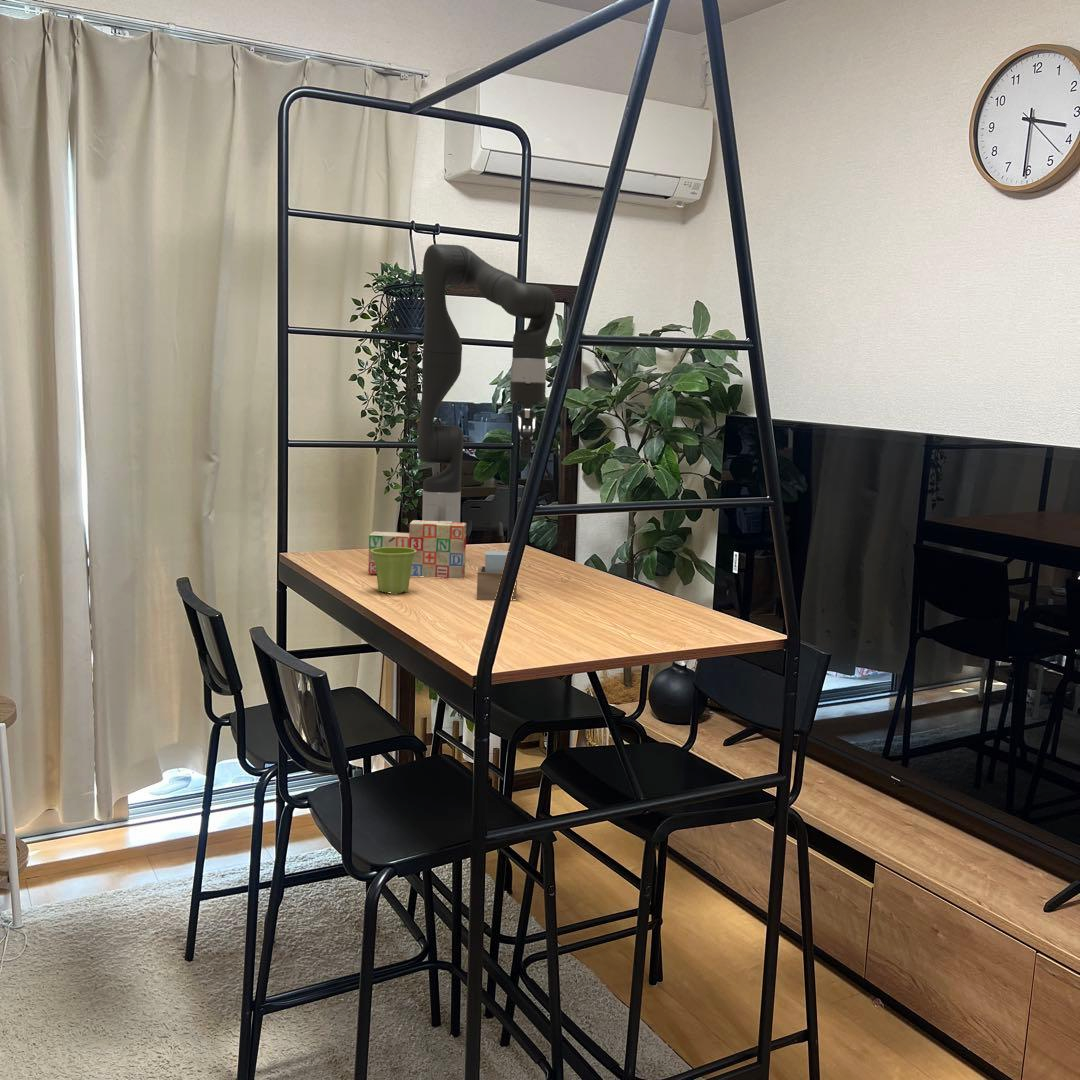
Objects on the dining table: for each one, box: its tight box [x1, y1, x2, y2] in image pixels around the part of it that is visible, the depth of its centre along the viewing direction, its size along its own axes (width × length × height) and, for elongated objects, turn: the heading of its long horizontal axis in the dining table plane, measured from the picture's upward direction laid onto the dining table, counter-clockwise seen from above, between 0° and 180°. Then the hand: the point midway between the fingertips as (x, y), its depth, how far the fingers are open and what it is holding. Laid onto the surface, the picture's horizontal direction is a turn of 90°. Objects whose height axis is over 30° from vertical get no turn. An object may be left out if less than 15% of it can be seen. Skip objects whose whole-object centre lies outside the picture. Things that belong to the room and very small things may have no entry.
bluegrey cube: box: [484, 550, 509, 573], centre depth 216 cm, size 5×5×5 cm
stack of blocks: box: [367, 519, 467, 579], centre depth 237 cm, size 21×6×12 cm, turn 88°
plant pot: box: [371, 547, 416, 594], centre depth 217 cm, size 9×9×9 cm
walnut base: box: [476, 565, 518, 601], centre depth 216 cm, size 8×8×6 cm
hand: (525, 456), depth 225 cm, fingers open, 8 cm apart
